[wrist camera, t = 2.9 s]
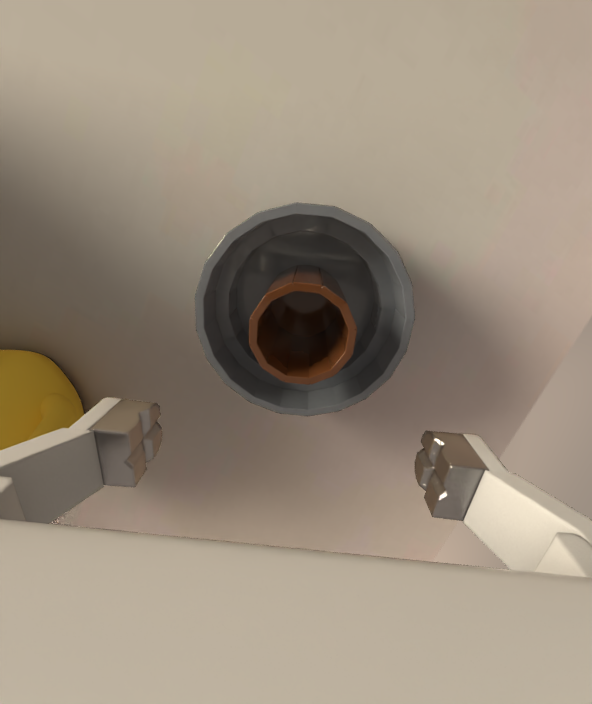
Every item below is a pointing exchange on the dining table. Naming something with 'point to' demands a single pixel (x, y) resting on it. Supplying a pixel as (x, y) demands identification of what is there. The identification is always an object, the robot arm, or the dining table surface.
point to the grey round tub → (341, 263)
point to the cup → (302, 326)
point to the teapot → (34, 397)
